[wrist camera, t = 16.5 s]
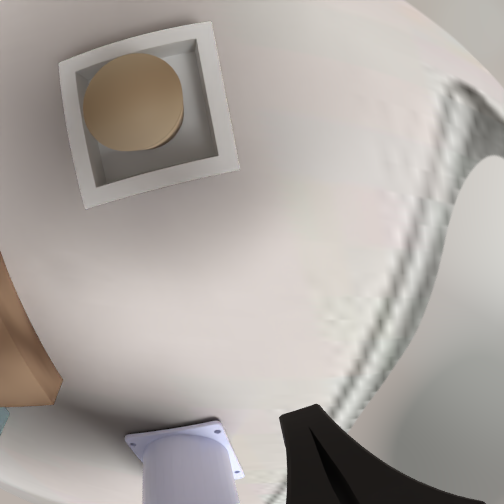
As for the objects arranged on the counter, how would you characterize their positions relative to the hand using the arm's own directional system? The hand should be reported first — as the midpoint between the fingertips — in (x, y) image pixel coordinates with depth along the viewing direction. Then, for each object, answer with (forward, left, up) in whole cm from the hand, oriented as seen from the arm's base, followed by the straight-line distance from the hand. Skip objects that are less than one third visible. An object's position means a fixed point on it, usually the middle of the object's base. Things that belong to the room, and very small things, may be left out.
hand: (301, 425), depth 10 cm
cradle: (+12, +3, -9) cm, 15 cm away
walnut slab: (+2, +18, -10) cm, 21 cm away
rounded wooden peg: (+12, +3, -9) cm, 15 cm away
